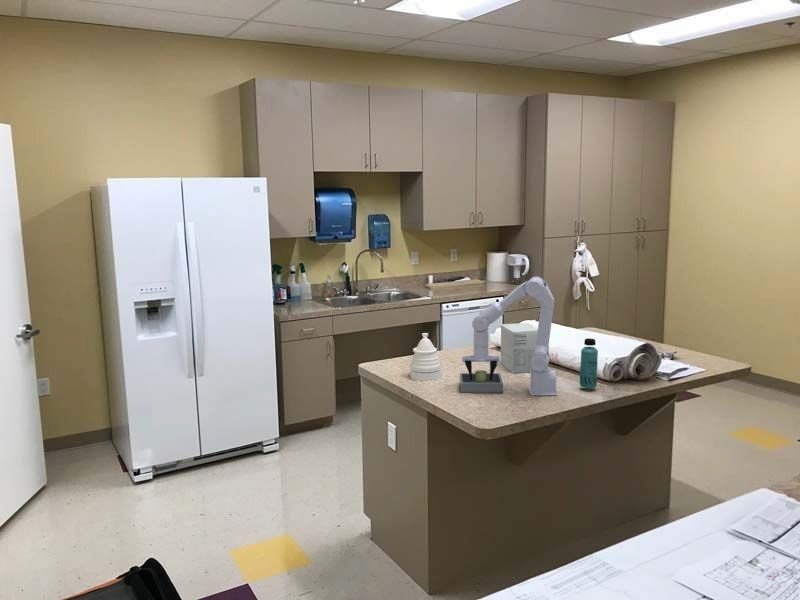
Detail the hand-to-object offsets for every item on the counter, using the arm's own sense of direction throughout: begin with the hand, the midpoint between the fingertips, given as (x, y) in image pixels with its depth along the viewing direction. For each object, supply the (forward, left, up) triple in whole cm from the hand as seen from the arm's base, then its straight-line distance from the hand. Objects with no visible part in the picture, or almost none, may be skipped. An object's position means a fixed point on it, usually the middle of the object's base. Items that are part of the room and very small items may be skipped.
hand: (480, 379), depth 255 cm
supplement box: (-19, -30, -4) cm, 36 cm away
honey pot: (+22, -16, -4) cm, 27 cm away
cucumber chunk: (0, 0, -3) cm, 3 cm away
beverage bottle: (-41, +2, -4) cm, 41 cm away
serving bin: (0, 0, -3) cm, 3 cm away
